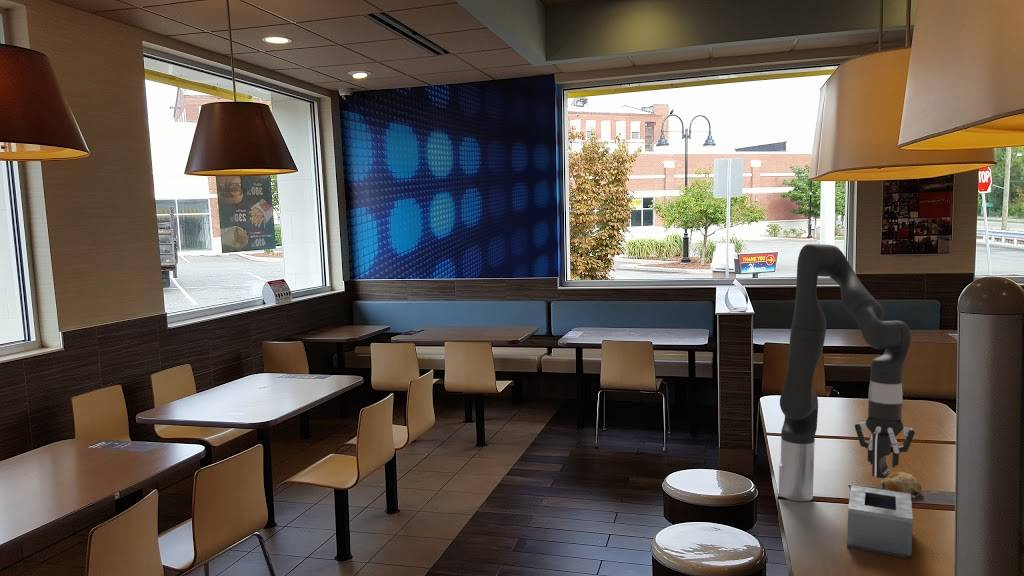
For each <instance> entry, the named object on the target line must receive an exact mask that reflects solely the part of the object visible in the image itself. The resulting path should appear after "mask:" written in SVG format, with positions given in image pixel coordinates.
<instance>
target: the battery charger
mask: <svg viewBox="0 0 1024 576" xmlns="http://www.w3.org/2000/svg"><path fill="white" fill-rule="evenodd" d="M892 452H893V446H892V444H891V440H890V437H889V434H886V433H880V434H879V433H874V435H873V446H872V464H871V465H872V467H871V474H872V475H871V476H872V477H873V478H876V479H877V478H878V479H884V478H886V477H887V476H888V475H889V474H890V473H892V471H891V470H890V468H889V467H888V464H887V456H890V455H891V454H892Z"/></svg>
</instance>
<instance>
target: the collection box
mask: <svg viewBox="0 0 1024 576" xmlns="http://www.w3.org/2000/svg"><path fill="white" fill-rule="evenodd" d="M912 504H913V503H912V498H911V494H908V493H901V492H895V491H888V490H884V489H881V488H874V487H873V488H872V487H867V486H860V485H855V484H850V493H849V502H848V510H847V535H846V537H847V538H846V539H847V540H846V547H847V548H851V549H856V550H861V551H867V552H873V553H877V554H882V555H887V556H893V557H898V558H903V557H904V559H908V558H909V560H912V550H913V549H912V546H913V529H914V527H913V524H914V518H913V505H912Z"/></svg>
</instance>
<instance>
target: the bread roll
mask: <svg viewBox="0 0 1024 576" xmlns="http://www.w3.org/2000/svg"><path fill="white" fill-rule="evenodd" d="M880 483H881V484H880V485H881V486H882V488H883V489H882V490H888V491H895V492H901V493H908V494H911V499H915V498H916V497H918V496H920V495H921V493H922V485H921V483H920V482H919V480H918V478H916V477H914V475H913V474H910V473H907V472H904V471H894V472H891V473H890V474H889V475H888V476H887V477H886V478H883V479H881V481H880Z"/></svg>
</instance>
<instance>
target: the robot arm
mask: <svg viewBox="0 0 1024 576" xmlns="http://www.w3.org/2000/svg"><path fill="white" fill-rule="evenodd" d="M798 253H799V254H798V257H797V265H796V287H795V288H796V290H795V299H794V309H793V310H794V311H793V317H792V321H791V322H792V323H791V326H790V327H791V329H790V336H789V344H788V345H789V346H788V353H787V355H788V356H787V369H786V373H785V378H784V383H783V386H782V390H781V394H780V397H779V398H780V399H779V407H780V411H781V412H782V414H783V415H784V420H783V424H782V428H781V432H780V434H781V436H780V461H779V462H780V463H779V467H778V494H777V495H778V497H779V498H780V497H781V498H784V499H786V500H790V501H793V502H809V501H812V500H813V498H814V497H813V496H814V476H815V475H814V474H815V473H814V472H815V448H816V447H815V444H816V443H815V441H816V433H817V429H818V415H819V399H818V394H817V393H816V391H815V390H814V389H813V381H814V380H813V379H814V376H815V375H814V374H815V372H816V368H817V365H818V363H819V361H820V358H821V355H822V351H823V350H824V349H823V348H824V345H825V341H826V339H825V338H826V332H827V319H826V316H825V314H824V311H823V309H822V308H823V307H821V304H820V302H819V297H818V294H817V289H818V279H819V277H821V278H822V277H823V278H826V277H828V278H830V279H832V280H833V281H834V282H835V283H836V284H837V285H838V286H839V289H840V298H841V302H842V305H843V306H844V308H845V309H846V311H847V312H848V313H849V314H850V315H851V316H852V318H853V319H854V320H855V321H856V322H857V324H858V325H857V326H858V327H859V329H860V332H861V336H862V338H863V341H864V342H865V343H866V344H867V345H868V346H869V347H871V348H873V349H875V350H884V351H883V354H882V355H881V356H878V357H875V358H873V360H871V363H870V381H869V386H868V407H867V410H868V411H867V419H866V420H865V421H864V422H863V421H862V422H859V421H856V422H855V423H854V429H855V432H856V434H857V435H856V436H857V438H858V443H859V445H860V446H861V448H864V449H865V448H866V449H867V461H868V463H870V465H872V446H873V435H874V433H879V434H880V433H886V434H889V437H890V440H891V444H892V446H893V452H892V453H891V454H892V455H891V457H892V458H891V459H892V460H891V467H892V468H896V466H897V467H898V466H899V464H900V463H899V462H900V461H899V459H900V453H907V452H908V450H909V448H910V446H911V443H912V441H913V438H914V436H915V434H916V433H915V429H914V428H913V427H907V426H904V424H903V422H902V421H903V420H902V415H903V398H904V397H903V386H902V385H903V384H902V383H903V382H902V381H903V366H904V363H905V361H906V358H907V354H908V352H909V349H910V345H911V344H912V333H911V330H910V327H909V326H908V324H907V323H906V322H904V321H901V320H883V318H884V316H885V310H884V308H883V307H882V305H881V304H880V303H879V302H878V300H876V299H875V298H874V296H873V295H872V294H871V293H870V292H869V291H868V290H867V288H866V287H865V286H864V285H863V283H862V281H861V280H860V278H859V277H858V275H857V274H856V272H855V271H854V269H853V267H852V266H851V264H850V263H849V261H848V259H847V257H846V256H845V253H844V252H842V250H841V249H840V248H839V247H838V246H836V245H833V244H825V243H807V244H805V245H803V247H802V248H801V249H800V251H799V252H798ZM865 428H867V429H868V430H869V431H870V433H871V436H870V439H869V441H866V439H865V436H864V433H863V432H864V431H865ZM902 431H903V435H904V436H905V438H904V440H903V442H902V445H899V444H898V441H897V436H898V435H900V433H901V432H902Z"/></svg>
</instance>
